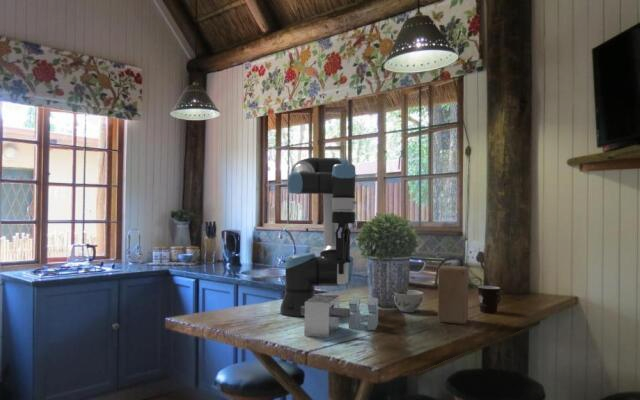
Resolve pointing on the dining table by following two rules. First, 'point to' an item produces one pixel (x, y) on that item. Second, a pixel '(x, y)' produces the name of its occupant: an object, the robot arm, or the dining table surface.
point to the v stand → (355, 313)
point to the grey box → (321, 315)
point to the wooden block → (453, 294)
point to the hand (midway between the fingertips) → (342, 283)
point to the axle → (334, 312)
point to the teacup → (408, 300)
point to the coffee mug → (488, 298)
